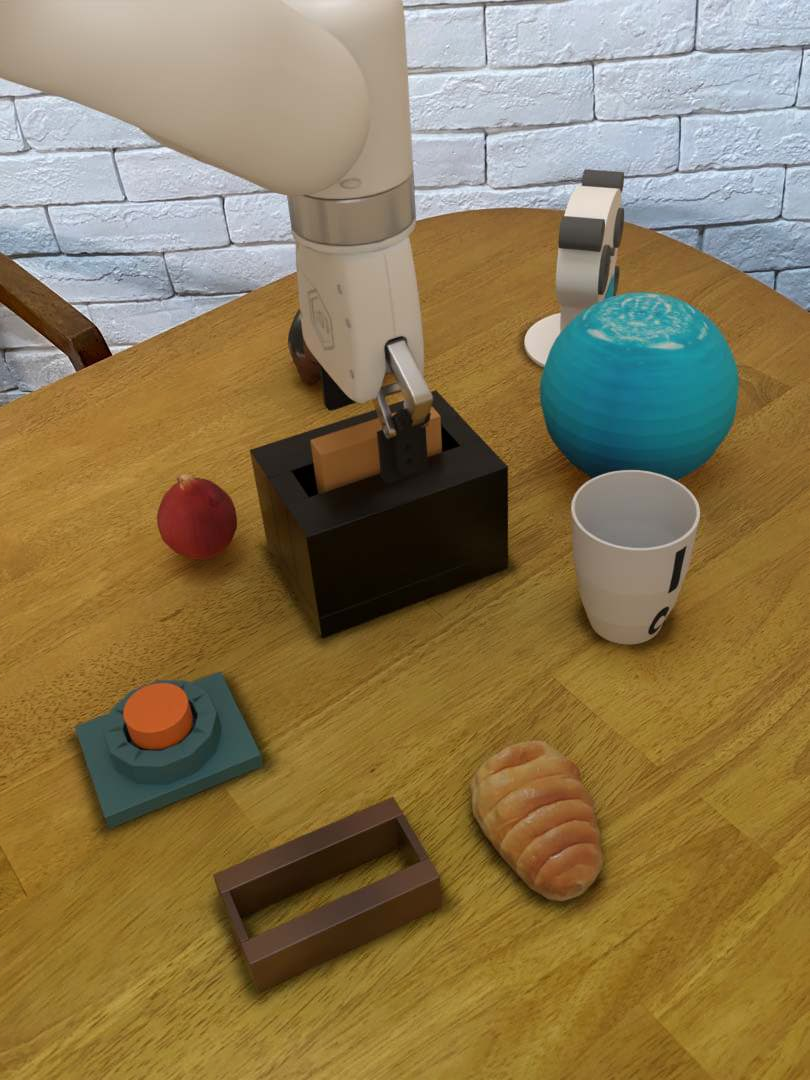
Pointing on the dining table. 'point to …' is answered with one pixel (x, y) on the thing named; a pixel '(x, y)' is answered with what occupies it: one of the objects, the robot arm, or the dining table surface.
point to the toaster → (383, 524)
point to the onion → (196, 518)
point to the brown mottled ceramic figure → (302, 353)
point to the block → (168, 753)
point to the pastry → (539, 818)
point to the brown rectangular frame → (337, 920)
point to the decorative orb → (639, 387)
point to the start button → (158, 716)
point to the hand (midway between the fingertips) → (374, 438)
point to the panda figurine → (583, 256)
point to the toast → (358, 452)
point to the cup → (632, 550)
